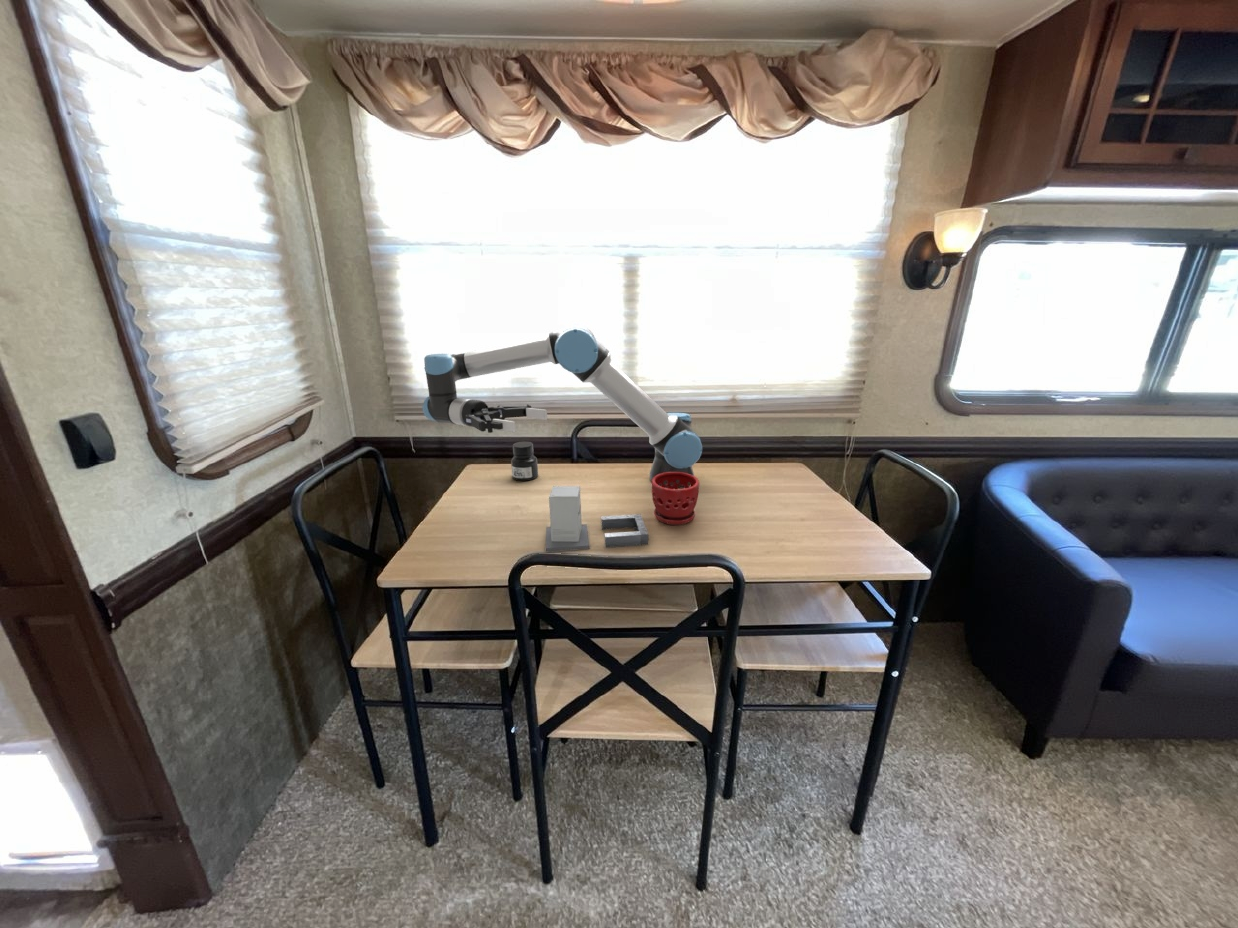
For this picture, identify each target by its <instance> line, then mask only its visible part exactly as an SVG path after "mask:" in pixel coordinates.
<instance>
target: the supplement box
mask: <svg viewBox="0 0 1238 928" xmlns="http://www.w3.org/2000/svg"><path fill="white" fill-rule="evenodd" d="M581 500H582V499H581V485H580V486H579V485H562V486H561V485H558V486H556V485H555V486H554V485H553V486H552V488H551V490H550V494H549V496H548V503H549V504H548V505H549V521H550V522H549V523H550V526H551V541H552V542H579V538H580V533H581V529H582V528H581V524H582V503H581Z"/></svg>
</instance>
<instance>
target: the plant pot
mask: <svg viewBox="0 0 1238 928" xmlns="http://www.w3.org/2000/svg"><path fill="white" fill-rule="evenodd" d="M676 480H679V483H677V482H676ZM664 481H667V484H666V485H664ZM688 482H689V483H690V484H689V485H688ZM670 483H673V485H670ZM658 484H661V486H659V485H658ZM679 485H683V486H682V487H684V488H679V487H678V486H679ZM699 493H700V480H699V479H698V478H697V476H695V475H694V476H693V475H691V474H688V473H684V472H665V473H661V474H658V475H656V476H655V477H654V478H653V479H652V482H651V498H652V501H653V505H654V507H655V508H654V510H653V514H654V516H655V518H656V519H657V520H658V521H659V522H662V523H664V524H667V525H673V526H675V525H677V526H679V525H686V524H688V523H690V522H691V521H692V520H694V518H695V516H696V512H695V510H694V509H696V508H695V507H696V505H697V502H698V497H699Z"/></svg>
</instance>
